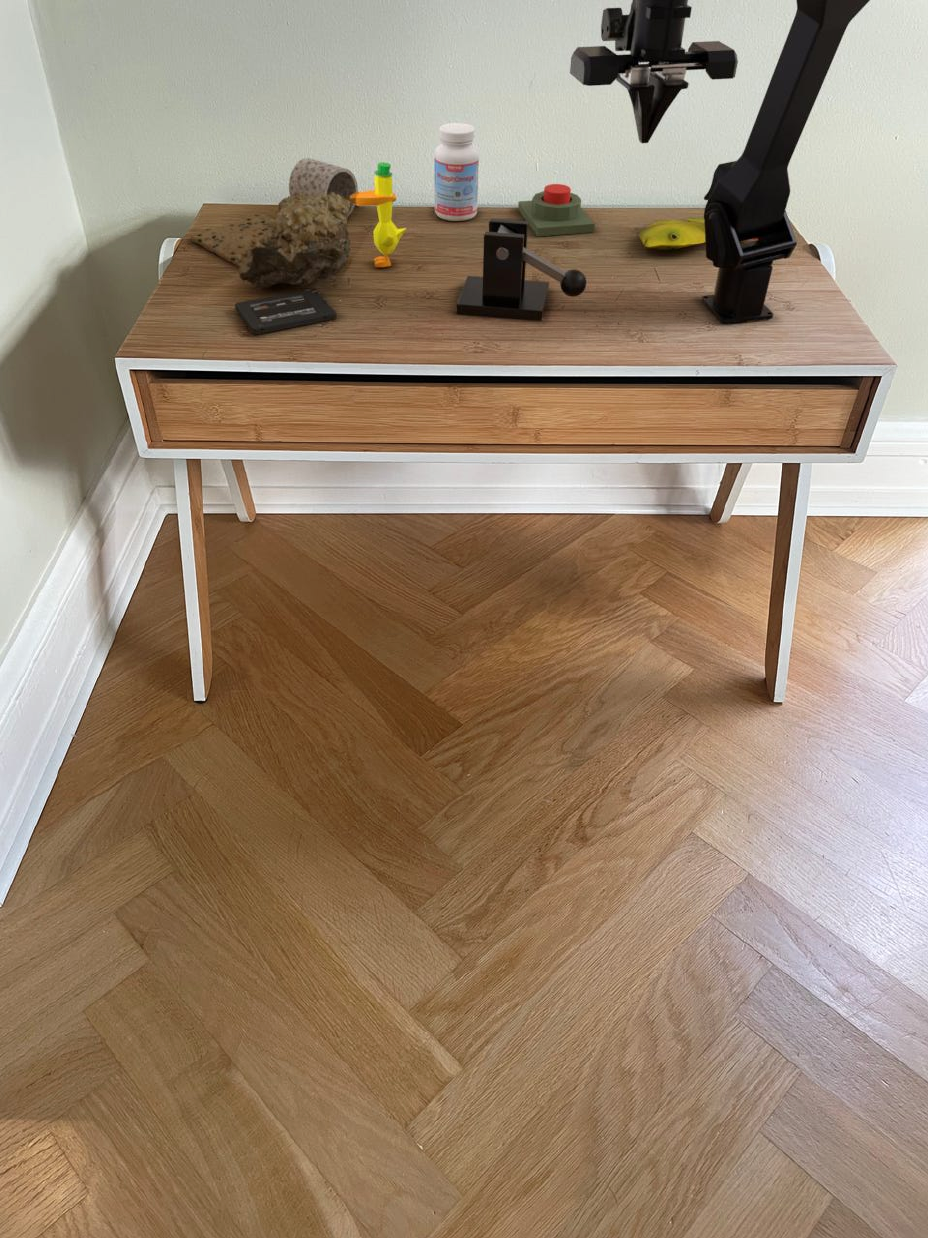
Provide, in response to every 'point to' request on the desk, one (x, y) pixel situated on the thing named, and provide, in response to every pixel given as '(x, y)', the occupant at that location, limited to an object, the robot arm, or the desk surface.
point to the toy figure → (381, 213)
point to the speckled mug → (322, 180)
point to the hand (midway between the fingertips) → (643, 142)
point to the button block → (555, 216)
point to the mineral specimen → (299, 242)
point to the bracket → (504, 278)
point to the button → (557, 194)
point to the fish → (673, 234)
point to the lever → (554, 271)
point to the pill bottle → (456, 173)
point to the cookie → (233, 236)
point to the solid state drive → (284, 311)
